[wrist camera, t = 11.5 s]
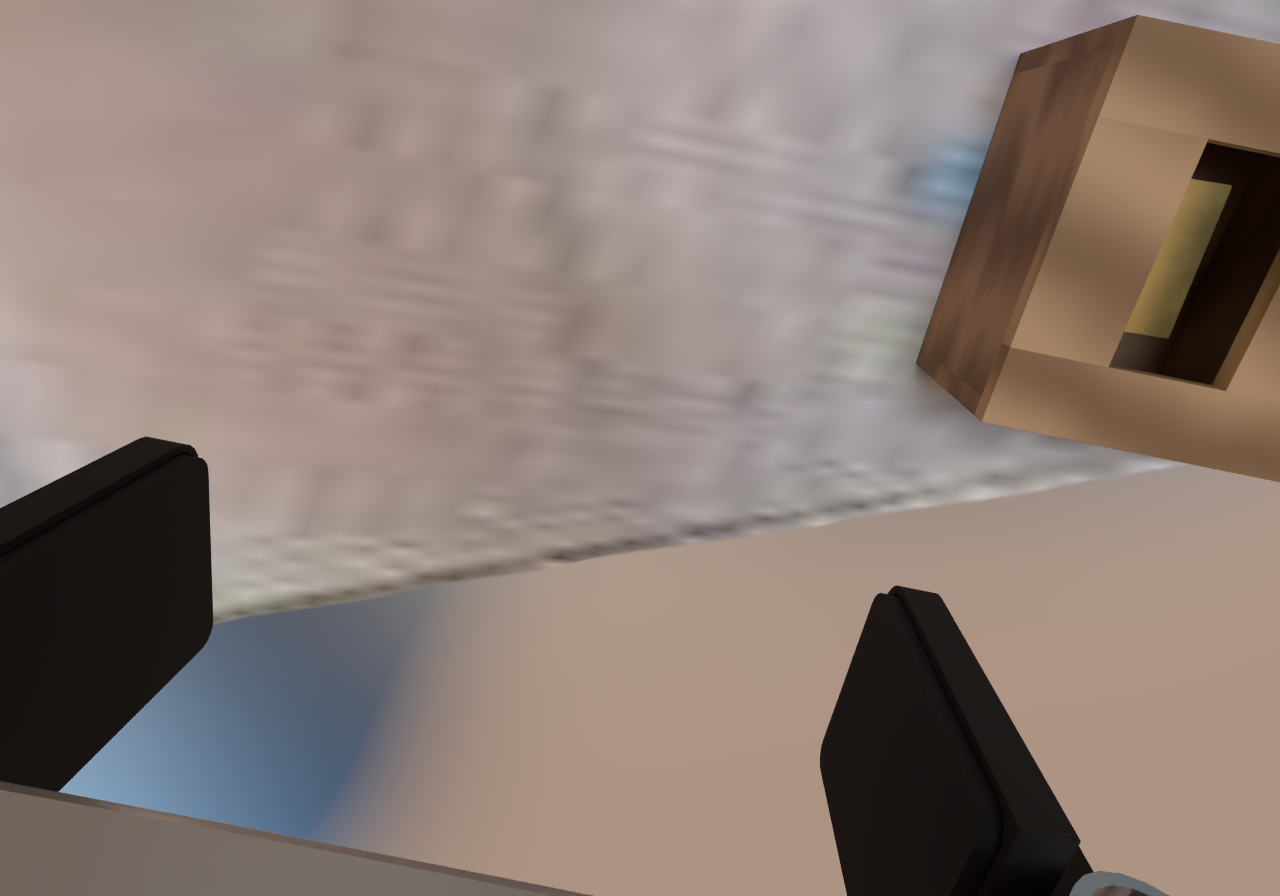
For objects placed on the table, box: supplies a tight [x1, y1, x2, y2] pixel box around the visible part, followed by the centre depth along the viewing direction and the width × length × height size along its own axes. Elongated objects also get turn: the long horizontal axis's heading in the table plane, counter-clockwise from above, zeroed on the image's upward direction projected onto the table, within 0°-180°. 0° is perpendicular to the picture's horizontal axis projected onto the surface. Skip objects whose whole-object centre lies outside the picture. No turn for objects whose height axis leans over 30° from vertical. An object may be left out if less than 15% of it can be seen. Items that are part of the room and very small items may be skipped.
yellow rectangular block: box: [1124, 179, 1233, 339], centre depth 32 cm, size 6×3×5 cm, turn 172°
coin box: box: [916, 15, 1280, 482], centre depth 30 cm, size 14×12×9 cm
